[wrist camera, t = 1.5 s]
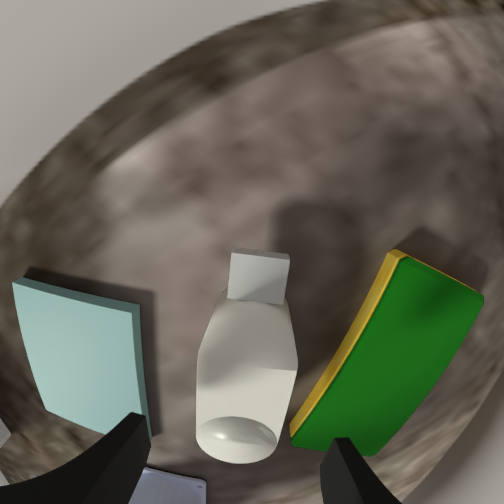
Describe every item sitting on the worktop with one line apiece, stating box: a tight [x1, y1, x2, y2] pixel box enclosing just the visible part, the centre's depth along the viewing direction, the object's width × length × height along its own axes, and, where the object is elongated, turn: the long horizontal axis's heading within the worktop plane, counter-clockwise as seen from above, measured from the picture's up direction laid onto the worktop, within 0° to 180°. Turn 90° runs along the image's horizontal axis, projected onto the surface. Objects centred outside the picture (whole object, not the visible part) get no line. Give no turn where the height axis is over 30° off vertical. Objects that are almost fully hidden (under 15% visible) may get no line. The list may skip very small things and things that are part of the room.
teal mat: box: [12, 277, 152, 441], centre depth 17 cm, size 12×10×1 cm
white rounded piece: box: [196, 247, 298, 463], centre depth 14 cm, size 11×4×5 cm, turn 173°
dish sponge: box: [290, 249, 484, 457], centre depth 16 cm, size 7×14×2 cm, turn 159°
